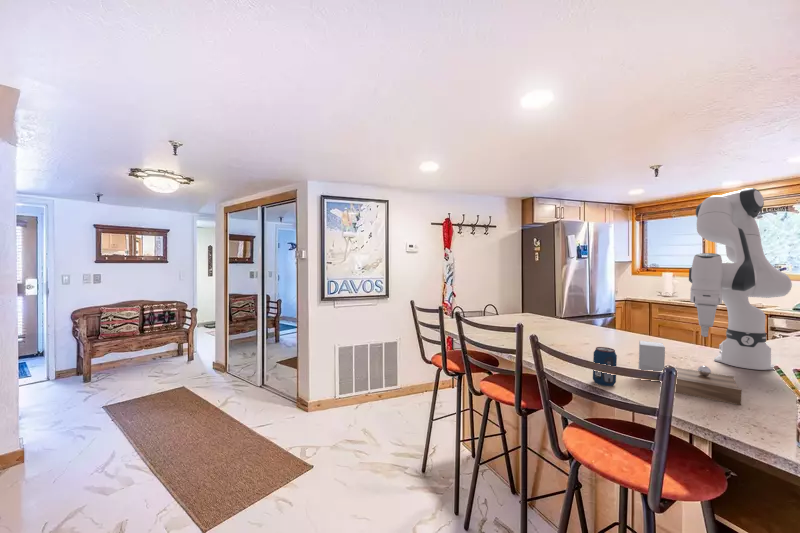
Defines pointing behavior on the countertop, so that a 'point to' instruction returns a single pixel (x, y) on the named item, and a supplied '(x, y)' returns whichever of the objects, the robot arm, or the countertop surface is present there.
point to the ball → (704, 371)
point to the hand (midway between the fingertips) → (704, 336)
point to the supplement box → (651, 356)
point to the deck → (708, 386)
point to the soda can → (608, 358)
